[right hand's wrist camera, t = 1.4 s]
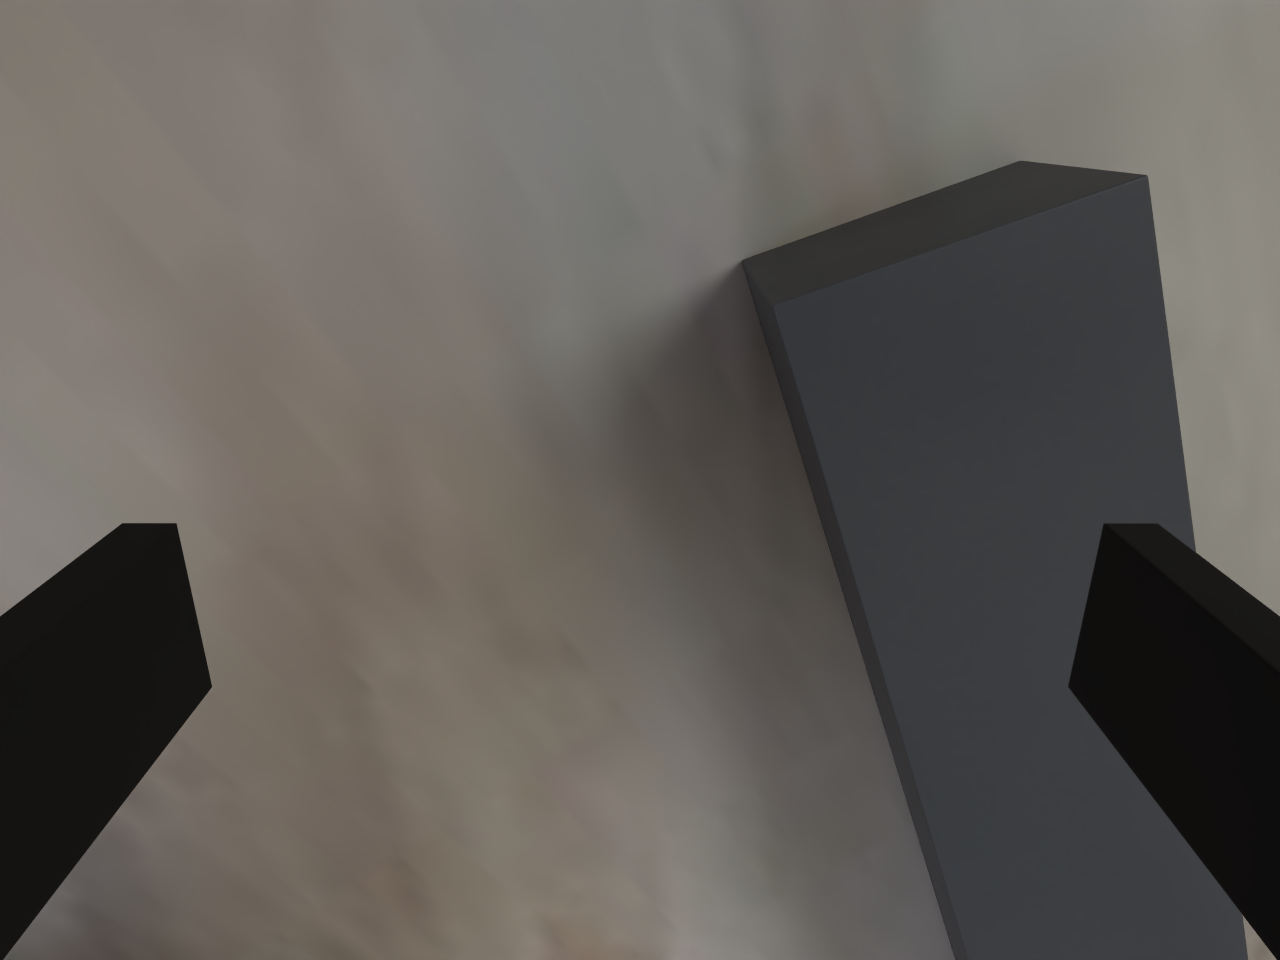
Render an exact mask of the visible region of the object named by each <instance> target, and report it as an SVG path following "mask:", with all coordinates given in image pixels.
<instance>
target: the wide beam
mask: <svg viewBox="0 0 1280 960" xmlns="http://www.w3.org/2000/svg"><path fill="white" fill-rule="evenodd" d="M742 264H743V268H744V271H745V274H746V277H747V281H748V284H749V287H750V291H751V294H752V297H753V300H754V304H755V307H756V310H757V313H758V317H759V320H760V323H761V326H762V330H763V333H764V336H765V339H766V343H767V346H768V349H769V353H770V356H771V359H772V362H773V366H774V369H775V372H776V375H777V379H778V382H779V385H780V388H781V392H782V395H783V398H784V401H785V405H786V408H787V411H788V415H789V418H790V421H791V424H792V428H793V431H794V434H795V437H796V441H797V444H798V447H799V450H800V454H801V457H802V460H803V463H804V467H805V470H806V473H807V477H808V480H809V483H810V486H811V490H812V493H813V496H814V499H815V503H816V506H817V509H818V512H819V516H820V519H821V522H822V526H823V529H824V532H825V535H826V539H827V542H828V545H829V548H830V552H831V555H832V558H833V561H834V565H835V568H836V571H837V574H838V578H839V581H840V584H841V588H842V591H843V594H844V597H845V601H846V604H847V607H848V610H849V614H850V617H851V620H852V623H853V627H854V630H855V633H856V636H857V640H858V643H859V646H860V650H861V653H862V656H863V659H864V663H865V666H866V669H867V672H868V676H869V679H870V682H871V685H872V689H873V692H874V695H875V698H876V702H877V705H878V708H879V712H880V715H881V718H882V721H883V725H884V728H885V731H886V734H887V738H888V741H889V744H890V747H891V751H892V754H893V757H894V760H895V764H896V767H897V770H898V774H899V777H900V780H901V783H902V787H903V790H904V793H905V796H906V800H907V803H908V806H909V809H910V813H911V816H912V819H913V822H914V826H915V829H916V832H917V836H918V839H919V842H920V845H921V849H922V852H923V855H924V858H925V862H926V865H927V868H928V871H929V875H930V878H931V881H932V885H933V888H934V891H935V894H936V898H937V901H938V904H939V907H940V911H941V914H942V917H943V920H944V924H945V927H946V930H947V933H948V937H949V940H950V943H951V947H952V950H953V953H954V956H955V960H1248V955H1247V948H1246V940H1245V932H1244V924H1243V916H1242V913H1241V912H1240V911H1239V909H1238V908H1237V907H1236V906H1235V904H1234V903H1233V902H1232V900H1231V899H1230V898H1229V896H1228V895H1227V894H1226V892H1225V891H1224V890H1223V889H1222V887H1221V886H1220V885H1219V883H1218V882H1217V881H1216V879H1215V878H1214V877H1213V875H1212V874H1211V873H1210V872H1209V870H1208V869H1207V868H1206V866H1205V865H1204V864H1203V862H1202V861H1201V860H1200V859H1199V857H1198V856H1197V855H1196V853H1195V852H1194V851H1193V849H1192V848H1191V847H1190V845H1189V844H1188V843H1187V842H1186V840H1185V839H1184V838H1183V836H1182V835H1181V834H1180V832H1179V831H1178V830H1177V829H1176V827H1175V826H1174V825H1173V823H1172V822H1171V821H1170V819H1169V818H1168V817H1167V815H1166V814H1165V813H1164V812H1163V810H1162V809H1161V808H1160V806H1159V805H1158V804H1157V802H1156V801H1155V800H1154V798H1153V797H1152V796H1151V795H1150V793H1149V792H1148V791H1147V789H1146V788H1145V787H1144V785H1143V784H1142V783H1141V782H1140V780H1139V779H1138V778H1137V776H1136V775H1135V774H1134V772H1133V771H1132V770H1131V768H1130V767H1129V766H1128V765H1127V763H1126V762H1125V761H1124V759H1123V758H1122V757H1121V755H1120V754H1119V753H1118V752H1117V750H1116V749H1115V748H1114V746H1113V745H1112V744H1111V742H1110V741H1109V740H1108V738H1107V737H1106V736H1105V735H1104V733H1103V732H1102V731H1101V729H1100V728H1099V727H1098V725H1097V724H1096V723H1095V721H1094V720H1093V719H1092V718H1091V716H1090V715H1089V714H1088V712H1087V711H1086V710H1085V708H1084V707H1083V706H1082V705H1081V703H1080V702H1079V701H1078V699H1077V698H1076V697H1075V695H1074V694H1073V693H1072V691H1071V690H1070V689H1069V688H1068V684H1069V680H1070V675H1071V670H1072V666H1073V661H1074V657H1075V652H1076V648H1077V643H1078V638H1079V634H1080V629H1081V625H1082V620H1083V615H1084V611H1085V606H1086V602H1087V597H1088V593H1089V588H1090V583H1091V579H1092V574H1093V570H1094V565H1095V560H1096V556H1097V551H1098V547H1099V542H1100V538H1101V533H1102V528H1103V524H1104V523H1158V524H1159V525H1160V526H1162V527H1163V528H1164V529H1166V530H1167V531H1168V532H1170V533H1171V534H1172V535H1174V536H1175V537H1176V538H1177V539H1179V540H1180V541H1181V542H1183V543H1184V544H1185V545H1187V546H1188V547H1189V548H1191V549H1192V550H1193V551H1195V552H1196V549H1195V541H1194V533H1193V526H1192V518H1191V510H1190V502H1189V494H1188V486H1187V479H1186V471H1185V463H1184V455H1183V447H1182V440H1181V432H1180V424H1179V416H1178V408H1177V400H1176V393H1175V385H1174V377H1173V369H1172V361H1171V354H1170V346H1169V338H1168V330H1167V322H1166V315H1165V307H1164V299H1163V291H1162V283H1161V275H1160V268H1159V260H1158V252H1157V244H1156V236H1155V229H1154V221H1153V213H1152V205H1151V197H1150V189H1149V182H1148V176H1147V175H1141V174H1132V173H1124V172H1115V171H1106V170H1097V169H1088V168H1080V167H1071V166H1062V165H1053V164H1045V163H1036V162H1027V161H1018V162H1016V163H1013V164H1010V165H1007V166H1004V167H1002V168H999V169H996V170H993V171H990V172H988V173H985V174H982V175H979V176H976V177H974V178H971V179H968V180H965V181H962V182H960V183H957V184H954V185H951V186H948V187H946V188H943V189H940V190H937V191H935V192H932V193H929V194H926V195H923V196H921V197H918V198H915V199H912V200H909V201H907V202H904V203H901V204H898V205H895V206H893V207H890V208H887V209H884V210H881V211H879V212H876V213H873V214H870V215H867V216H865V217H862V218H859V219H856V220H853V221H851V222H848V223H845V224H842V225H839V226H837V227H834V228H831V229H828V230H825V231H823V232H820V233H817V234H814V235H811V236H809V237H806V238H803V239H800V240H797V241H795V242H792V243H789V244H786V245H783V246H781V247H778V248H775V249H772V250H769V251H767V252H764V253H761V254H758V255H755V256H753V257H750V258H747V259H744V260H743V261H742Z"/></svg>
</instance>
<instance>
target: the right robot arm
mask: <svg viewBox="0 0 1280 960" xmlns="http://www.w3.org/2000/svg"><path fill="white" fill-rule="evenodd" d="M211 688H212V684H211V680H210V675H209V670H208V666H207V661H206V657H205V652H204V648H203V643H202V638H201V634H200V629H199V625H198V620H197V615H196V611H195V606H194V602H193V597H192V593H191V588H190V583H189V579H188V574H187V570H186V565H185V560H184V556H183V551H182V547H181V542H180V538H179V533H178V528H177V524H176V523H122V524H121V525H120V526H118V527H117V528H116V529H114V530H113V531H112V532H110V533H109V534H108V535H106V536H105V537H104V538H103V539H101V540H100V541H99V542H97V543H96V544H95V545H93V546H92V547H91V548H89V549H88V550H87V551H85V552H84V553H83V554H82V555H80V556H79V557H78V558H76V559H75V560H74V561H72V562H71V563H70V564H68V565H67V566H66V567H65V568H63V569H62V570H61V571H59V572H58V573H57V574H55V575H54V576H53V577H51V578H50V579H49V580H47V581H46V582H45V583H44V584H42V585H41V586H40V587H38V588H37V589H36V590H34V591H33V592H32V593H30V594H29V595H28V596H27V597H25V598H24V599H23V600H21V601H20V602H19V603H17V604H16V605H15V606H13V607H12V608H11V609H9V610H8V611H7V612H6V613H4V614H3V615H2V616H0V960H3V959H4V958H5V956H6V955H7V954H8V952H9V951H10V950H11V949H12V947H13V946H14V945H15V943H16V942H17V941H18V939H19V938H20V937H21V936H22V934H23V933H24V932H25V930H26V929H27V928H28V926H29V925H30V924H31V922H32V921H33V920H34V919H35V917H36V916H37V915H38V913H39V912H40V911H41V909H42V908H43V907H44V906H45V904H46V903H47V902H48V900H49V899H50V898H51V896H52V895H53V894H54V892H55V891H56V890H57V889H58V887H59V886H60V885H61V883H62V882H63V881H64V879H65V878H66V877H67V875H68V874H69V873H70V872H71V870H72V869H73V868H74V866H75V865H76V864H77V862H78V861H79V860H80V859H81V857H82V856H83V855H84V853H85V852H86V851H87V849H88V848H89V847H90V845H91V844H92V843H93V842H94V840H95V839H96V838H97V836H98V835H99V834H100V832H101V831H102V830H103V829H104V827H105V826H106V825H107V823H108V822H109V821H110V819H111V818H112V817H113V815H114V814H115V813H116V812H117V810H118V809H119V808H120V806H121V805H122V804H123V802H124V801H125V800H126V798H127V797H128V796H129V795H130V793H131V792H132V791H133V789H134V788H135V787H136V785H137V784H138V783H139V782H140V780H141V779H142V778H143V776H144V775H145V774H146V772H147V771H148V770H149V768H150V767H151V766H152V765H153V763H154V762H155V761H156V759H157V758H158V757H159V755H160V754H161V753H162V752H163V750H164V749H165V748H166V746H167V745H168V744H169V742H170V741H171V740H172V738H173V737H174V736H175V735H176V733H177V732H178V731H179V729H180V728H181V727H182V725H183V724H184V723H185V721H186V720H187V719H188V718H189V716H190V715H191V714H192V712H193V711H194V710H195V708H196V707H197V706H198V705H199V703H200V702H201V701H202V699H203V698H204V697H205V695H206V694H207V693H208V691H209V690H210V689H211ZM1068 688H1069V689H1070V690H1071V691H1072V693H1073V694H1074V695H1075V697H1076V698H1077V699H1078V701H1079V702H1080V703H1081V705H1082V706H1083V707H1084V708H1085V710H1086V711H1087V712H1088V714H1089V715H1090V716H1091V718H1092V719H1093V720H1094V721H1095V723H1096V724H1097V725H1098V727H1099V728H1100V729H1101V731H1102V732H1103V733H1104V735H1105V736H1106V737H1107V738H1108V740H1109V741H1110V742H1111V744H1112V745H1113V746H1114V748H1115V749H1116V750H1117V752H1118V753H1119V754H1120V755H1121V757H1122V758H1123V759H1124V761H1125V762H1126V763H1127V765H1128V766H1129V767H1130V768H1131V770H1132V771H1133V772H1134V774H1135V775H1136V776H1137V778H1138V779H1139V780H1140V782H1141V783H1142V784H1143V785H1144V787H1145V788H1146V789H1147V791H1148V792H1149V793H1150V795H1151V796H1152V797H1153V798H1154V800H1155V801H1156V802H1157V804H1158V805H1159V806H1160V808H1161V809H1162V810H1163V812H1164V813H1165V814H1166V815H1167V817H1168V818H1169V819H1170V821H1171V822H1172V823H1173V825H1174V826H1175V827H1176V829H1177V830H1178V831H1179V832H1180V834H1181V835H1182V836H1183V838H1184V839H1185V840H1186V842H1187V843H1188V844H1189V845H1190V847H1191V848H1192V849H1193V851H1194V852H1195V853H1196V855H1197V856H1198V857H1199V859H1200V860H1201V861H1202V862H1203V864H1204V865H1205V866H1206V868H1207V869H1208V870H1209V872H1210V873H1211V874H1212V875H1213V877H1214V878H1215V879H1216V881H1217V882H1218V883H1219V885H1220V886H1221V887H1222V889H1223V890H1224V891H1225V892H1226V894H1227V895H1228V896H1229V898H1230V899H1231V900H1232V902H1233V903H1234V904H1235V906H1236V907H1237V908H1238V909H1239V911H1240V912H1241V913H1242V915H1243V916H1244V917H1245V919H1246V920H1247V921H1248V922H1249V924H1250V925H1251V926H1252V928H1253V929H1254V930H1255V932H1256V933H1257V934H1258V936H1259V937H1260V938H1261V939H1262V941H1263V942H1264V943H1265V945H1266V946H1267V947H1268V949H1269V950H1270V951H1271V952H1272V954H1273V955H1274V956H1275V958H1276V959H1277V960H1280V616H1278V615H1277V614H1276V613H1274V612H1273V611H1272V610H1271V609H1269V608H1268V607H1267V606H1265V605H1264V604H1263V603H1261V602H1260V601H1259V600H1257V599H1256V598H1255V597H1253V596H1252V595H1251V594H1250V593H1248V592H1247V591H1246V590H1244V589H1243V588H1242V587H1240V586H1239V585H1238V584H1236V583H1235V582H1234V581H1233V580H1231V579H1230V578H1229V577H1227V576H1226V575H1225V574H1223V573H1222V572H1221V571H1219V570H1218V569H1217V568H1215V567H1214V566H1213V565H1212V564H1210V563H1209V562H1208V561H1206V560H1205V559H1204V558H1202V557H1201V556H1200V555H1198V554H1197V553H1196V552H1195V551H1193V550H1192V549H1191V548H1189V547H1188V546H1187V545H1185V544H1184V543H1183V542H1181V541H1180V540H1179V539H1177V538H1176V537H1175V536H1174V535H1172V534H1171V533H1170V532H1168V531H1167V530H1166V529H1164V528H1163V527H1162V526H1160V525H1159V524H1158V523H1104V524H1103V528H1102V533H1101V538H1100V542H1099V547H1098V551H1097V556H1096V560H1095V565H1094V570H1093V574H1092V579H1091V583H1090V588H1089V593H1088V597H1087V602H1086V606H1085V611H1084V615H1083V620H1082V625H1081V629H1080V634H1079V638H1078V643H1077V648H1076V652H1075V657H1074V661H1073V666H1072V670H1071V675H1070V680H1069V684H1068Z"/></svg>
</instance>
